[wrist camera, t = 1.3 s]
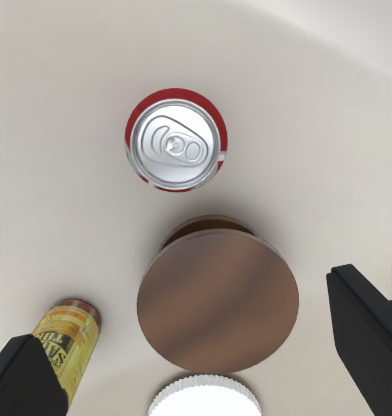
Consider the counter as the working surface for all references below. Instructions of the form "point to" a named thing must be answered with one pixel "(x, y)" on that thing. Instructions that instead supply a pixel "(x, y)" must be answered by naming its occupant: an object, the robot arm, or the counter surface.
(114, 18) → the counter surface
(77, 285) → the counter surface
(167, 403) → the plastic lid
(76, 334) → the sauce bottle
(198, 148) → the soda can
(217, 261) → the stand
